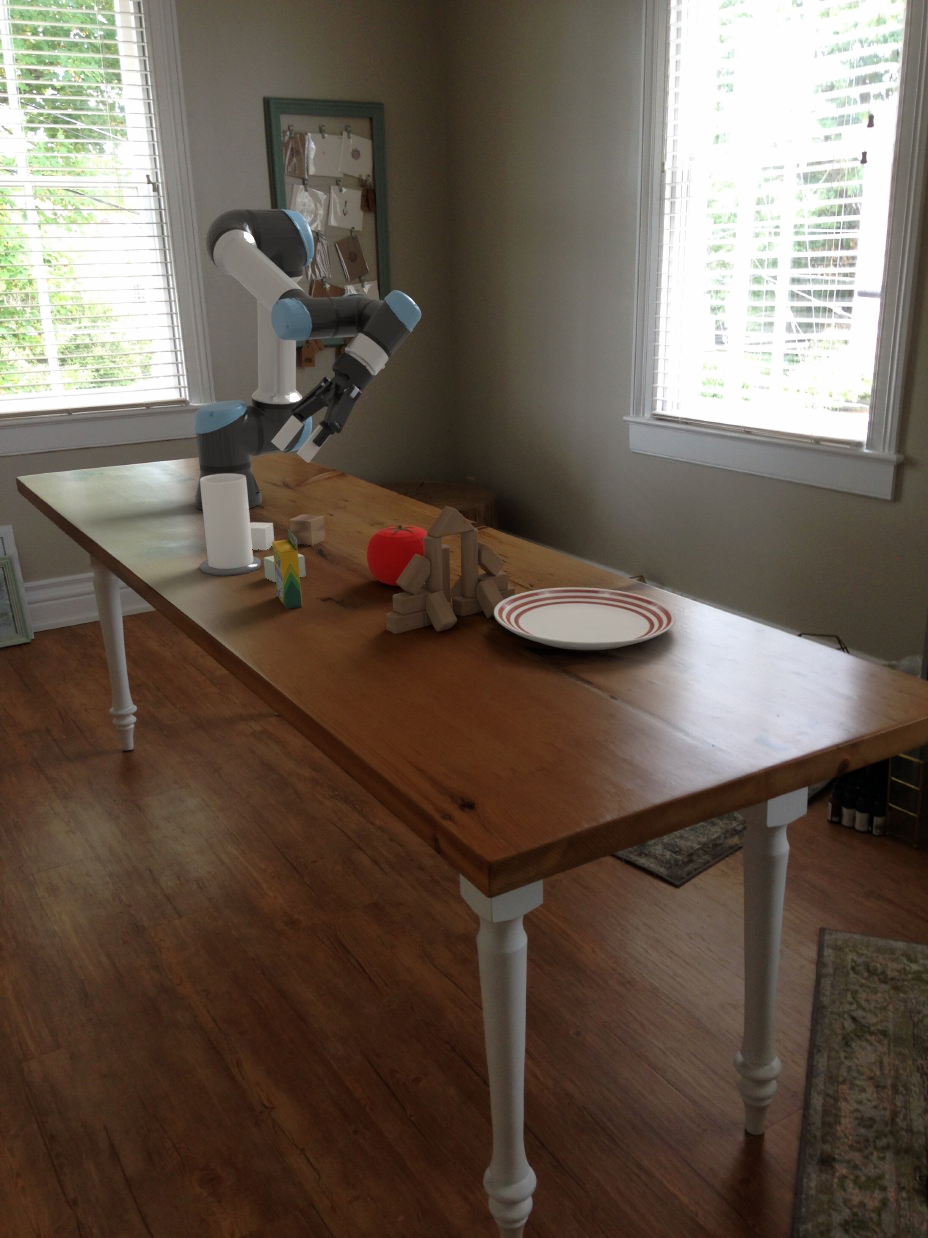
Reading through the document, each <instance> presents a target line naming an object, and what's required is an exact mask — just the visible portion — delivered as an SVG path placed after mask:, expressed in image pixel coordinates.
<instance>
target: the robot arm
mask: <svg viewBox="0 0 928 1238" xmlns="http://www.w3.org/2000/svg"><path fill="white" fill-rule="evenodd" d="M205 247H206V253H207V255H208V258H209V260H210V261H211V262H212V264H213V265H214V266H215V267H216V268H217V269H218V270H219V271H220V272H222V273H223V274H225V275H228V276H232V277H234V279H235V280H237V281H238V282H239V284H240V285H242V286H243V288H245V289H246V290H247V292H249V293H250V294H251V295H252V296H253V297H254V298H256V304H257V311H256V312H257V313H256V314H257V316H256V317H257V374H258V375H257V383H258V384H257V385H258V386H257V387H258V388H257V389H256V390H255V391H254V392H253V393H252V394H251V404H250V405H247V403H246V401H244V400H242V399H241V400H240V399H233V400H232V399H230V400H223V401H222V400H221V401H217V402H213V403H209V404H206V405H204V406H201V407H200V408H198V409H197V411H196V412H195V415H194V416H195V417H194V419H195V428H194V431H195V435H196V443H197V452H198V453H197V454H198V463H199V464H198V465H199V479H198V483H197V487H196V490H195V491H196V492H195V497H194V501H195V507H196V508H197V509H199V510H202V511H203V507H202V497H201V487H200V479H201V478H202V477H205V476H209V475H215V474H241V475H245V476H246V483H247V494H248V505H249V509H251V508H255V507H257V506H260V505H261V504H262V502H263V500H262V493H261V490H260V487H259V485H258V483H257V480H256V478H255V476H254V473H253V470H252V460H251V457H259V456H266V455H273V454H286V453H287V454H288V453H290V452H294V451H297V452H296V454H297V455H298V456H299V457H300V458H301V459H303V460H304V461H305V462H306V463H308V464H309V463H310V462H311V461H312V459H314V458H315V456H316V455H317V453H318V452H319V451H320V449H321V448H322V447H323V445H325V443H326V442H327V441H328V439H329V438H330V437H331V435H332V436H334V434H335V433H336V434H337V435H338V434H340V433H341V432H342V430H343V428H344V427H345V424H346V423H347V420H348V419H349V416H350V414H351V412H352V410H353V408H354V406H355V404H356V402H357V401H358V400H359V398H360V397H361V396H362V393H363V392H364V391H365V390H366V389H367V388H368V386H369V385H370V384H371V383H372V381H373V380H374V376H376V375H378V373H379V372H380V371H381V370H383V369H385V368H386V366H385V365H386V363H387V362H388V361H389V359H390V358H391V357H392V356H393V355H394V353H395V352H396V351H397V350H398V349H399V347H400V346H401V345H402V344H403V343H404V342H405V340H406V339H407V338H408V336H409V335H410V334H411V333H412V332H413V331H414V330H413V329H414V328H415V327H416V326H417V324H418V322H419V321H420V320H421V318H422V312H421V309H420V307H419V306H418V305H417V303H415V301H414V300H413V299H412V298H411V297H410V296H408V295H407V294H406V293H404V292H402V291H400V290H392V291H391V292H390V293H388V294H387V296H385V297H384V299H383V300H382V299H377V298H373V297H371V296H367V295H364V293H356V292H355V293H354V292H349V293H345V294H344V295H342V296H335V297H334V296H331V297H328V296H327V297H326V296H324V297H312V296H311V295H310V294H309V293H307V292H306V291H305V290H304V289H303V288H302V287H301V286H299V284H298V282H300V280H301V279H302V278H303V277H304V268H305V267H307V266H309V265H310V264H311V263H312V262H313V258H314V255H315V242H314V235H313V233H312V230H311V227H310V225H309V224H308V221H307V220H306V218H305V217H304V215H302V214H301V213H300V212H299V211H296V210H289V209H283V208H270V209H269V208H266V209H265V208H259V209H256V208H255V209H254V208H253V209H248V208H247V209H245V208H235V209H230V210H226V211H224V212H222V213H220V214H219V215H217V216H216V218H214V220H213V221H212V222H211V223H210V224H209V226H208V228H207V232H206V236H205ZM351 337H353V338H351ZM336 338H351V340H350V342H349V343H348V344H347V345H346V346H345V348H344V350H345V351H344V352H341V354H340V355H339V356H338V357H337V359H335V360H334V362H333V364H332V365H331V370H332V371H333V373H334V376H333V377H332V378H331V379H330V378H329V377H328V376H324V377H323V378H322V379H321V380H320V381H319V382H318V384H316V386H314V387H313V388H312V389H311V390H310V391H309V392H308V393H306V394H305V395H304V397H303V395H302V394H301V393H300V392H299V391H298V390H297V389H296V388H297V387H296V386H297V371H296V370H297V350H296V349H297V342H301V341H302V342H303V341H306V340H320V339H336ZM325 407H326V408H327V409H326V412H325V414H324V418H323V420H321V421H320V422H318V425H317V426H316V428H314V430H313V419H312V418H313V417H312V416H314V415H315V414H316V413H318V412H319V411H320V410H322V409H323V408H325ZM312 430H313V431H312Z"/></svg>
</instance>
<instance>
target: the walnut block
mask: <svg viewBox="0 0 928 1238" xmlns="http://www.w3.org/2000/svg"><path fill="white" fill-rule="evenodd" d="M288 521H289V531H290V532H291V533H292V534H293V535H294V536H295V538H297V545H300V544H304V545H303V546H309V545H311V546H310V547H313V546H315V545H318V544H319V542H320V543H322V542H323V541H326V529H325V527H326V525H325V524H326V523H325V516H324V515H315V514H305V513H302V514H300V515H297V516H295V517H293V518H290V519H289V520H288ZM291 540H292V542H294V539H293V538H292V537H291ZM321 541H322V542H321ZM305 544H307V545H305ZM314 544H315V545H314Z"/></svg>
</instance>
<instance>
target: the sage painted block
mask: <svg viewBox="0 0 928 1238" xmlns="http://www.w3.org/2000/svg"><path fill="white" fill-rule="evenodd" d="M298 561H299V574H300V577H301V578H306V577H307V575H306V574H307V573H306V562H305V561H306V559H305V555H303V554H300V553H298ZM263 565H264V567H263V568H264V578H265V579H266V578H267V579H266V580H268V579H269V581H271V580H272V581H271V582H273V583H275V582H276V576H275V565H274V555H270V556H265V557H263ZM305 576H306V577H305Z"/></svg>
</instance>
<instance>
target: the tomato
mask: <svg viewBox="0 0 928 1238" xmlns="http://www.w3.org/2000/svg"><path fill="white" fill-rule="evenodd" d="M427 532H428V531H426V529H424V528H421V527H419V526H417V525H416V526H415V525H402V524H399V525H398V524H395V525H394V526H393V525H392V526H388V527H385V528H381V529H379V530H378V531H377V532H375V533H374V534H373V535H371V538H370V539H369V541H368V543H367V544H368V545H367V549H366V562H367V567H368V569H369V571H370V574H371V575H372V577H374V578H375V579H376V580H377V581H379V582H381V583H383V584H385V585H389V586H392V587H393V586H394V587H400V586H399V585H398V584H397V583H396V581H397V579H398V578H399V577H400V575H401V574H402V572H403V571H404V569H405V568H406V567H407V565H408V564H409V562H410V561H411V559H412V558H413V556H414V555H415V554H417V555H420V556H423V557H424V541H423V538H424V536H427Z"/></svg>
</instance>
